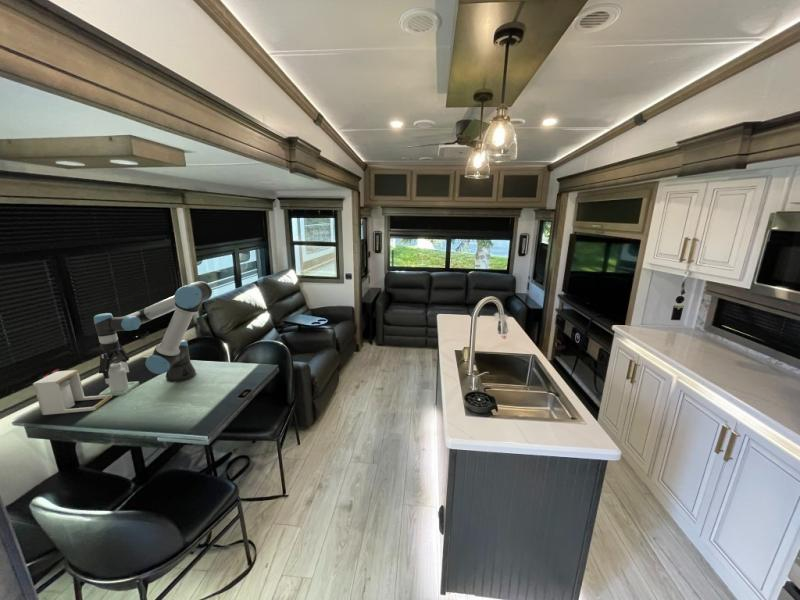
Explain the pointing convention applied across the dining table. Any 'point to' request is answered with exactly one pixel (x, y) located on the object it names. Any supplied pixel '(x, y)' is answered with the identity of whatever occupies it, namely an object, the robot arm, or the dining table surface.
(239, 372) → the dining table surface
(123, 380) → the pill bottle
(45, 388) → the dispenser
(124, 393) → the tray
